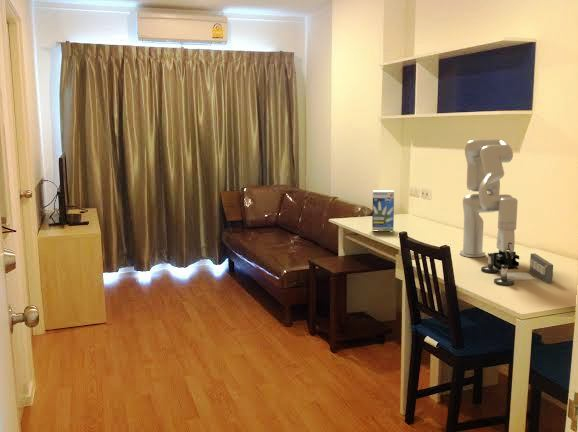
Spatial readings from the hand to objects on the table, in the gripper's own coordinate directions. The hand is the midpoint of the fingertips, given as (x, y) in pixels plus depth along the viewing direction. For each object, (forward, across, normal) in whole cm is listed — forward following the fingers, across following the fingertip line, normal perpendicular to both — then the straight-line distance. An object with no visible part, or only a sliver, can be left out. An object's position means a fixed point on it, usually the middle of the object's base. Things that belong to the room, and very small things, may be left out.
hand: (505, 263), depth 244 cm
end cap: (+2, 0, 0) cm, 2 cm away
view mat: (+6, 0, +6) cm, 8 cm away
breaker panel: (+6, 0, +16) cm, 17 cm away
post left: (+6, -9, -4) cm, 11 cm away
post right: (+6, +10, -3) cm, 12 cm away
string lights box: (+7, -102, -43) cm, 111 cm away
